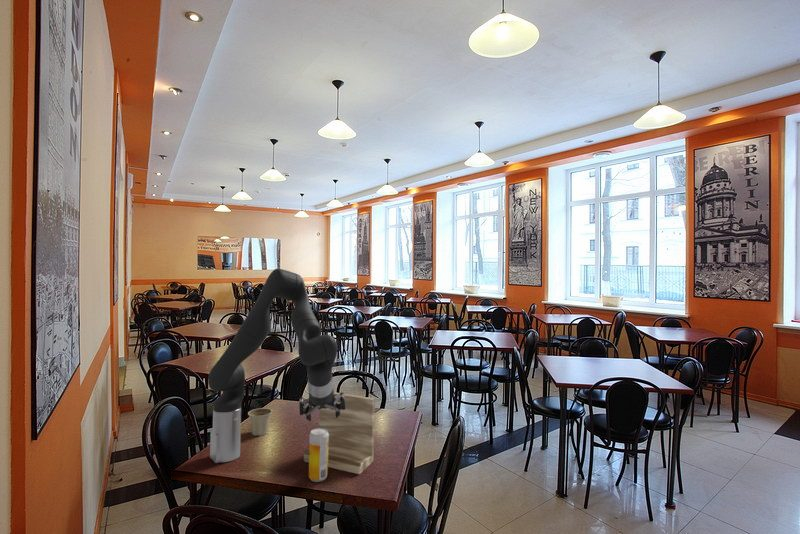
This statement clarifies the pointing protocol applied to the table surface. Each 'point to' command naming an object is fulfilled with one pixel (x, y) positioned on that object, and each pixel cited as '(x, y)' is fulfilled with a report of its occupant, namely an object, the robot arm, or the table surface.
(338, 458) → the wall board
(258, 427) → the flower pot
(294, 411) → the table surface
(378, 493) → the table surface
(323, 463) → the beer can
